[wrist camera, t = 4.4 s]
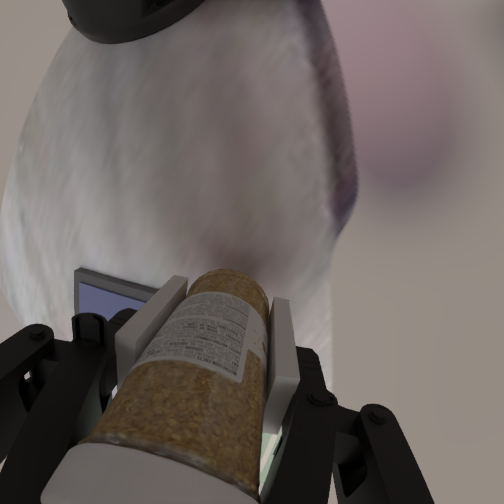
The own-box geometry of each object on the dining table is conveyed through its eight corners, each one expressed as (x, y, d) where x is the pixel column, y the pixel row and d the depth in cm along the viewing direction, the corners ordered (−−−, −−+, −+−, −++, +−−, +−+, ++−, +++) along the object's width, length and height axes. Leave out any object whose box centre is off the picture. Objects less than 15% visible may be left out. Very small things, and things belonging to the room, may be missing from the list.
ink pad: (80, 267, 23) (72, 271, 21) (183, 296, 22) (178, 302, 21) (83, 359, 24) (77, 365, 23) (172, 391, 24) (169, 399, 23)
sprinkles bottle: (258, 351, 16) (235, 595, 3) (180, 331, 16) (63, 542, 3) (280, 277, 15) (302, 572, 2) (193, 255, 15) (-5, 467, 2)
